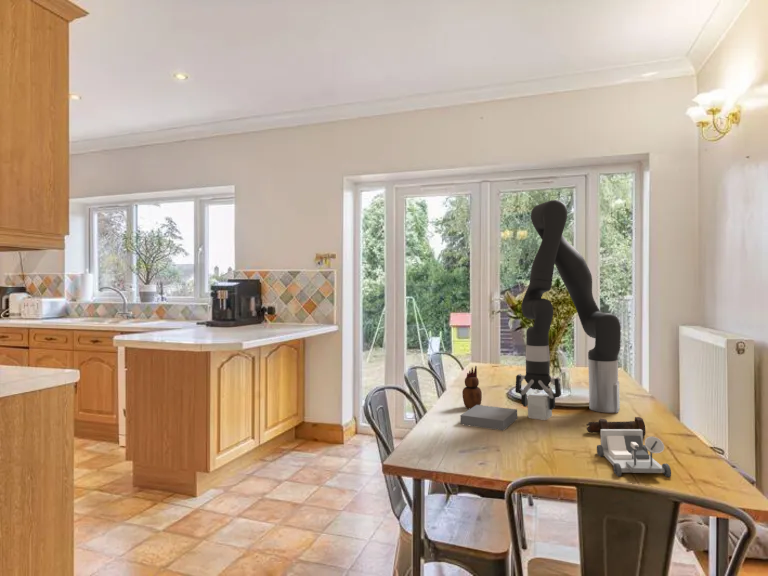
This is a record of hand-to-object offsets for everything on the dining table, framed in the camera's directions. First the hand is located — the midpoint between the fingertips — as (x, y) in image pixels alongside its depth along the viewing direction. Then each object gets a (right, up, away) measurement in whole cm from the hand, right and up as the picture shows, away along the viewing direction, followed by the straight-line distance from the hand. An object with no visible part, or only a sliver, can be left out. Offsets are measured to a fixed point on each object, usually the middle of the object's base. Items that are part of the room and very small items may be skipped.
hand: (538, 407), depth 161 cm
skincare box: (+1, -3, 0) cm, 3 cm away
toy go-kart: (+9, -4, -43) cm, 44 cm away
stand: (-17, -4, -3) cm, 17 cm away
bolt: (+16, -3, -20) cm, 26 cm away
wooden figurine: (-19, -4, +14) cm, 24 cm away
